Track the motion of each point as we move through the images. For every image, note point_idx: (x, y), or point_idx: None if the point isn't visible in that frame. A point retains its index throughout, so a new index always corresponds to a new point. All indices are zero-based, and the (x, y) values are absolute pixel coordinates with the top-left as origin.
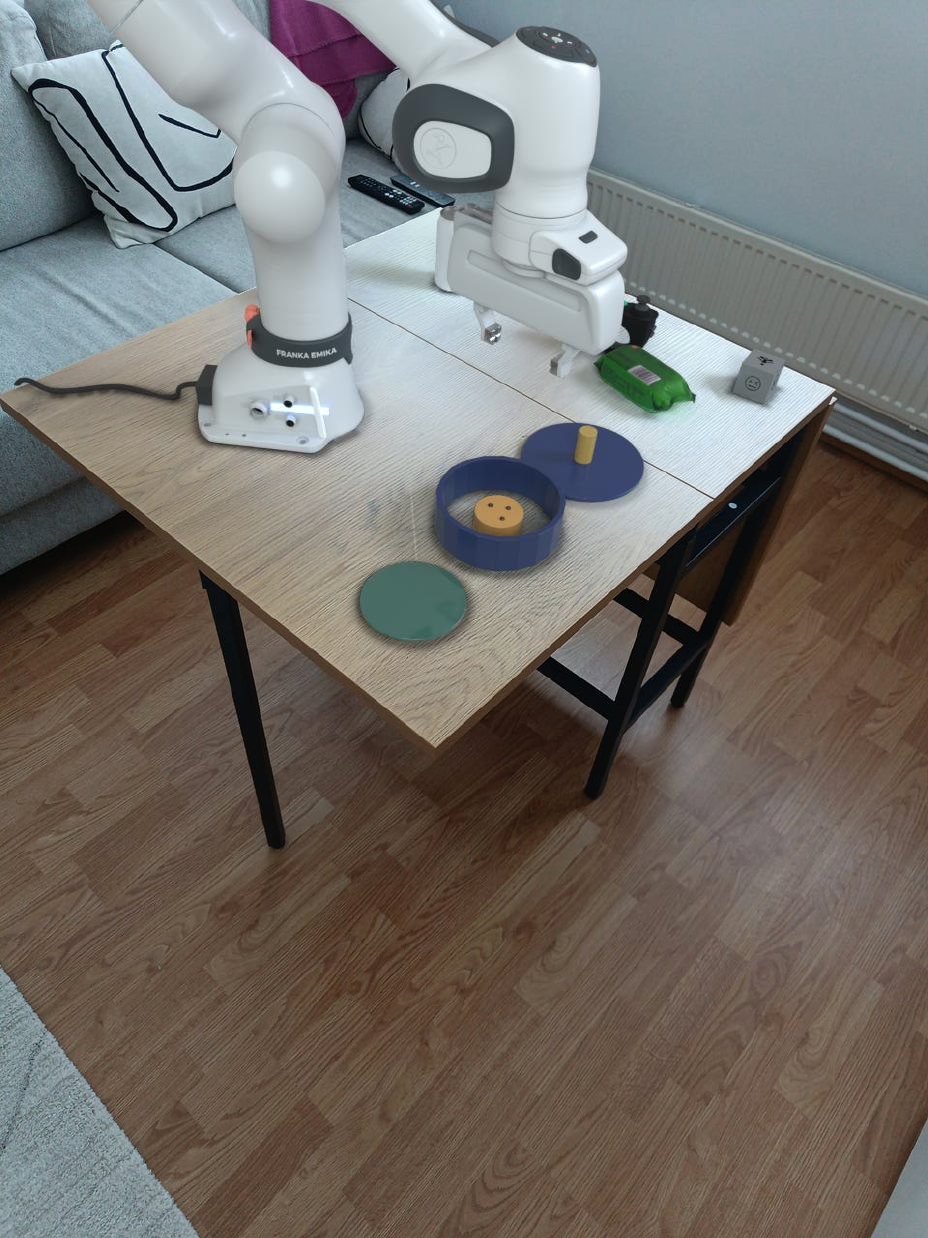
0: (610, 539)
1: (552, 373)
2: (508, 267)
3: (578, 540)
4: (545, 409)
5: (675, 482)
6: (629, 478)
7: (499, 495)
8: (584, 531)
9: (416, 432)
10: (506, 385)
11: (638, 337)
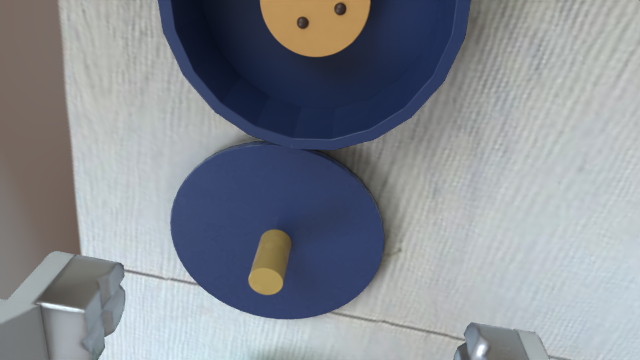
0: (136, 93)
1: (101, 260)
2: None
3: None
4: (396, 321)
5: (140, 266)
6: (187, 235)
7: (339, 50)
8: (183, 87)
9: (593, 169)
10: None
11: None
